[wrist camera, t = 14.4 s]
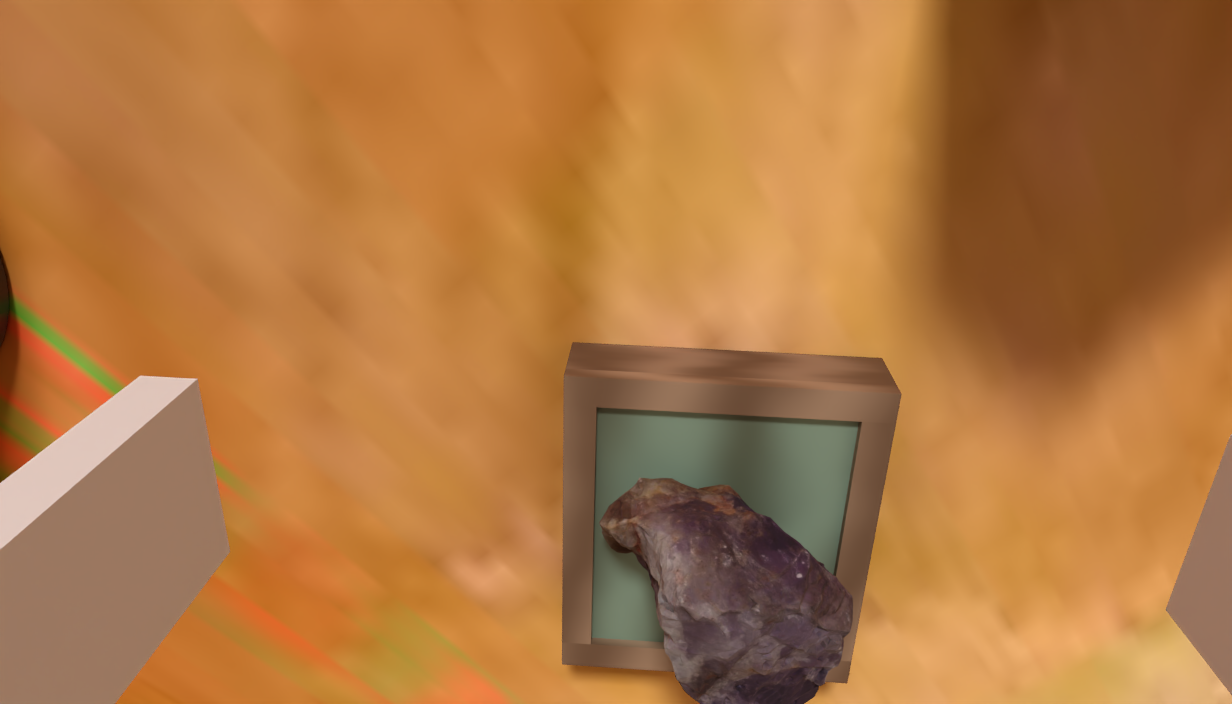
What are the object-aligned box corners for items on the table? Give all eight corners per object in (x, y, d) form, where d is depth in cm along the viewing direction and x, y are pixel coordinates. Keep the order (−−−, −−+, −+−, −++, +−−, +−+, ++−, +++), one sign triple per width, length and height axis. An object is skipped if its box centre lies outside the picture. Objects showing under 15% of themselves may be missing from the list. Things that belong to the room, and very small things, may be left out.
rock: (683, 628, 46) (861, 567, 44) (694, 782, 39) (908, 719, 36) (575, 483, 41) (772, 404, 38) (565, 631, 33) (806, 545, 31)
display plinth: (569, 615, 49) (562, 664, 45) (572, 342, 42) (563, 376, 38) (834, 632, 48) (847, 683, 45) (882, 358, 41) (901, 393, 38)
